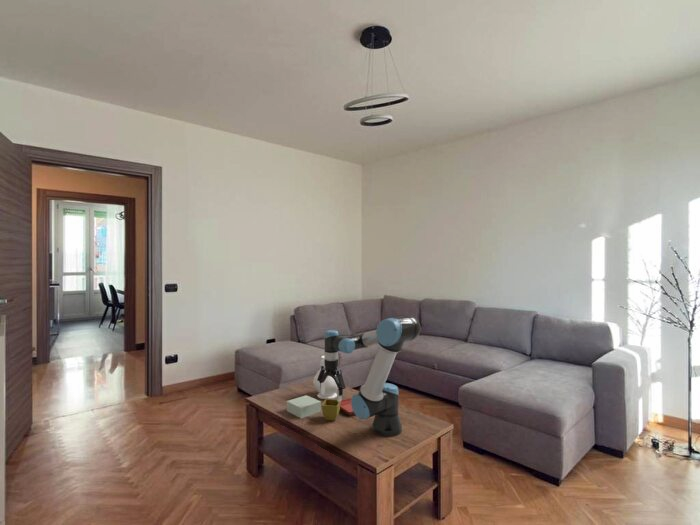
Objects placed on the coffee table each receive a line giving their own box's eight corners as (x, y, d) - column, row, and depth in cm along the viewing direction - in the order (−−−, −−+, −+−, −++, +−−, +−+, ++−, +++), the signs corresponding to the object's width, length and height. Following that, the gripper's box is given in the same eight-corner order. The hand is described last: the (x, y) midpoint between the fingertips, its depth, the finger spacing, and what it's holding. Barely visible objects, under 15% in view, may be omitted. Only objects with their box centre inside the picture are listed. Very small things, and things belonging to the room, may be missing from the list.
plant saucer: (358, 401, 235) (358, 396, 235) (376, 411, 219) (376, 405, 219) (333, 407, 225) (333, 401, 225) (349, 418, 210) (349, 412, 210)
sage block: (321, 412, 218) (321, 401, 218) (301, 418, 209) (301, 408, 209) (306, 405, 228) (306, 395, 228) (286, 411, 219) (286, 401, 219)
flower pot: (337, 422, 203) (337, 406, 203) (321, 421, 205) (321, 404, 205) (340, 416, 211) (340, 400, 211) (325, 415, 213) (325, 398, 213)
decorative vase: (333, 402, 232) (333, 361, 231) (307, 398, 239) (307, 358, 239) (345, 393, 248) (345, 354, 247) (321, 389, 255) (321, 352, 255)
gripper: (352, 362, 202) (352, 402, 202) (321, 353, 219) (321, 390, 220) (342, 365, 196) (341, 406, 197) (311, 355, 214) (311, 393, 214)
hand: (330, 397), depth 208 cm, fingers open, 13 cm apart
